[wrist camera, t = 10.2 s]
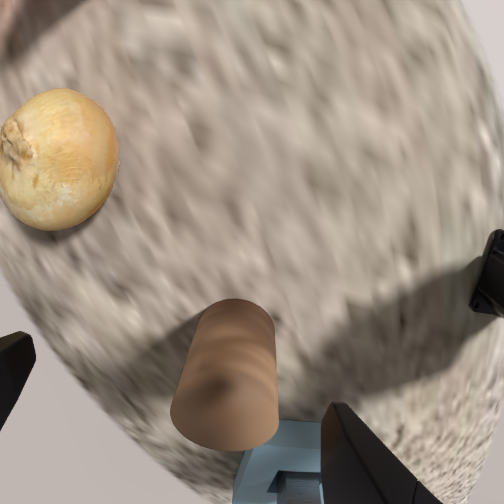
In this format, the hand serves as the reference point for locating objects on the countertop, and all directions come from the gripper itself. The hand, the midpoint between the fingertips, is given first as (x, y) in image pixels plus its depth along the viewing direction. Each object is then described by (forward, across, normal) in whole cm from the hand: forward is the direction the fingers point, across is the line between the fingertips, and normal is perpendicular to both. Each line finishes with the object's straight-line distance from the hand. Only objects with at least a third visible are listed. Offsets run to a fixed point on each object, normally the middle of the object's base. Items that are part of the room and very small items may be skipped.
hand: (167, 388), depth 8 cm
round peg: (+12, -2, +6) cm, 14 cm away
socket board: (+12, -10, +20) cm, 25 cm away
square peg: (+12, -10, +20) cm, 25 cm away
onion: (+12, +10, -4) cm, 16 cm away
